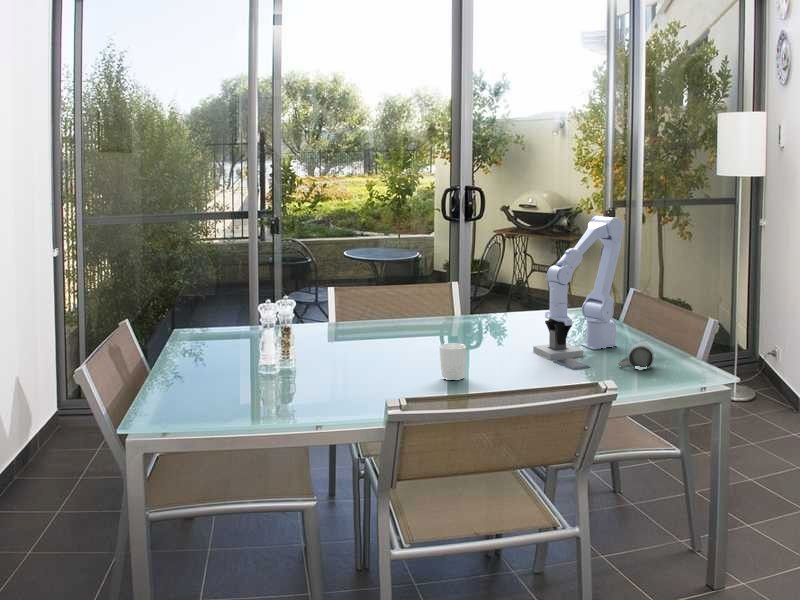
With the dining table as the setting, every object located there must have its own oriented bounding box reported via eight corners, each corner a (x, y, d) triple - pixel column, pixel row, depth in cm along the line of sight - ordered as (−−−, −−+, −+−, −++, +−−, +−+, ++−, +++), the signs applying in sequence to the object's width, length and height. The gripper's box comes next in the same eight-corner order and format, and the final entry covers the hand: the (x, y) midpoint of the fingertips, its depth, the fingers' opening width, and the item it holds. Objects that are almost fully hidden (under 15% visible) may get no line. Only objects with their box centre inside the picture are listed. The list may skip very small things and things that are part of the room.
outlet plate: (565, 348, 317) (565, 342, 316) (583, 356, 306) (583, 350, 305) (533, 351, 313) (533, 346, 313) (550, 360, 302) (550, 353, 301)
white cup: (438, 375, 286) (438, 343, 284) (464, 374, 287) (463, 342, 285) (441, 382, 278) (441, 349, 277) (468, 381, 279) (467, 348, 277)
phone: (568, 361, 301) (568, 357, 301) (589, 369, 292) (589, 365, 291) (553, 363, 299) (553, 359, 299) (573, 371, 289) (573, 367, 289)
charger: (560, 346, 311) (560, 328, 310) (566, 348, 307) (566, 330, 306) (549, 347, 310) (549, 329, 309) (555, 349, 306) (555, 331, 305)
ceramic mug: (653, 364, 293) (653, 340, 292) (653, 371, 285) (653, 346, 284) (618, 364, 296) (618, 340, 294) (617, 370, 288) (617, 346, 287)
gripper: (537, 299, 312) (536, 339, 314) (558, 307, 298) (557, 348, 300) (556, 298, 314) (555, 337, 316) (577, 305, 300) (577, 346, 303)
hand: (558, 342), depth 308 cm, fingers closed on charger, 4 cm apart
